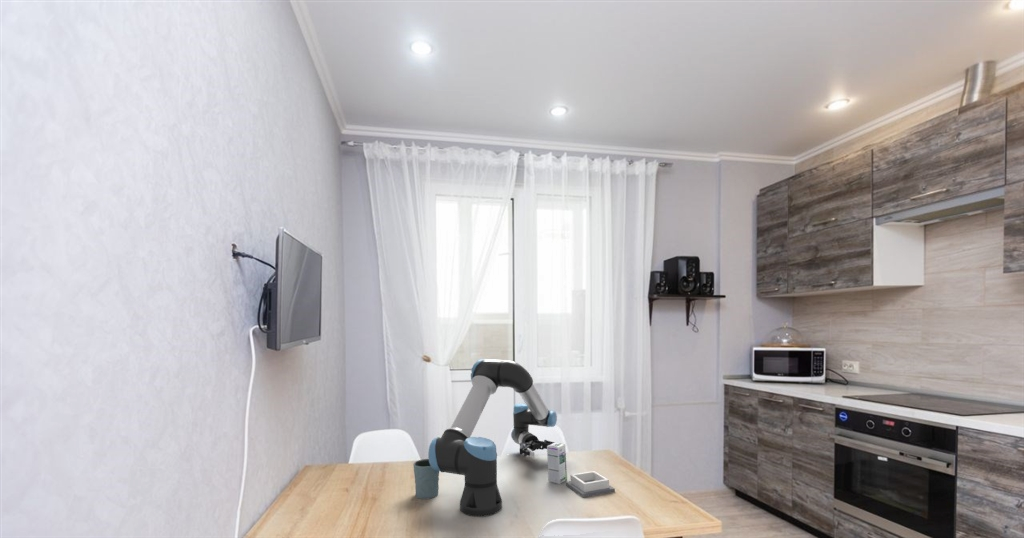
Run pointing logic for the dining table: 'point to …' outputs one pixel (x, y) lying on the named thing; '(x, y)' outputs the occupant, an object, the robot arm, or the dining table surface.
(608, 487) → the socket plate
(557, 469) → the syrup box
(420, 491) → the teal cup
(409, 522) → the dining table surface
